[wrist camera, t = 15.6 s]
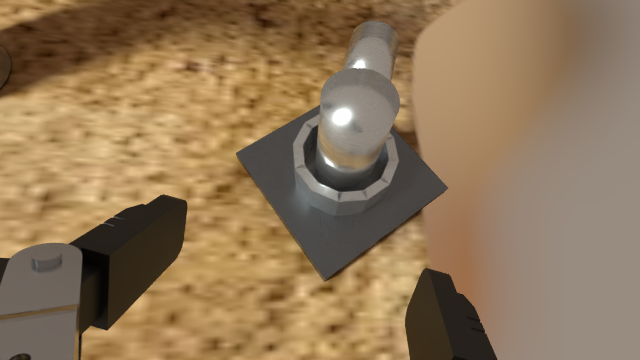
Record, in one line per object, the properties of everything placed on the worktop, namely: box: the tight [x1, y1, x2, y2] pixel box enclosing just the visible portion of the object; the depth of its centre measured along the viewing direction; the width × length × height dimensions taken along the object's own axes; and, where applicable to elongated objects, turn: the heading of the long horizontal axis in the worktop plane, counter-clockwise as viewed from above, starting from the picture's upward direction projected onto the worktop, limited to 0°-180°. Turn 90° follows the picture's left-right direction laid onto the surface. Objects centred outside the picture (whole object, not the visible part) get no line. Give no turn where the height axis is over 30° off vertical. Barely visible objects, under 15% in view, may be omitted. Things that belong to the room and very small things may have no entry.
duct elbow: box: [315, 21, 400, 192], centre depth 28 cm, size 10×5×11 cm, turn 166°
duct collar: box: [236, 105, 448, 282], centre depth 31 cm, size 14×14×5 cm
